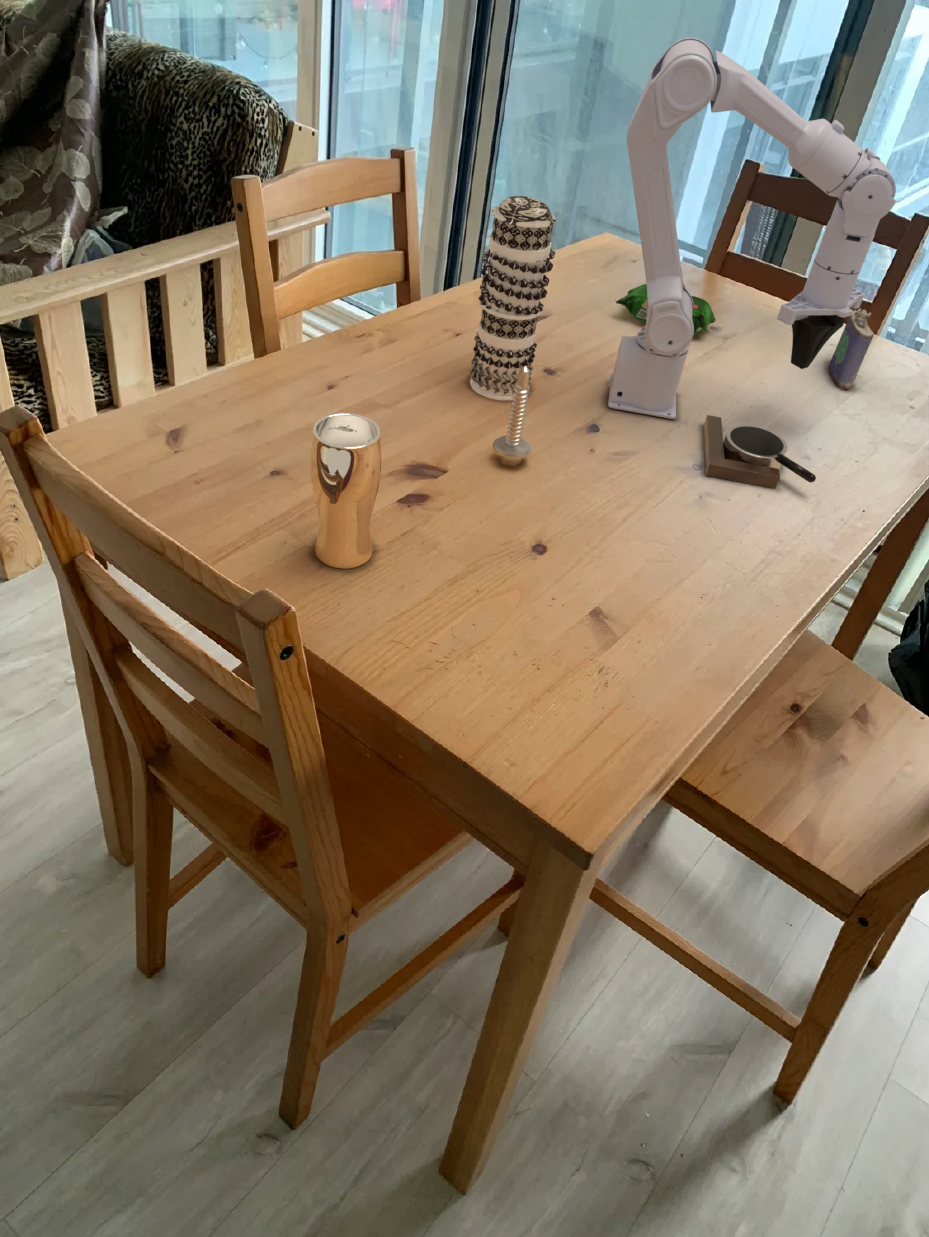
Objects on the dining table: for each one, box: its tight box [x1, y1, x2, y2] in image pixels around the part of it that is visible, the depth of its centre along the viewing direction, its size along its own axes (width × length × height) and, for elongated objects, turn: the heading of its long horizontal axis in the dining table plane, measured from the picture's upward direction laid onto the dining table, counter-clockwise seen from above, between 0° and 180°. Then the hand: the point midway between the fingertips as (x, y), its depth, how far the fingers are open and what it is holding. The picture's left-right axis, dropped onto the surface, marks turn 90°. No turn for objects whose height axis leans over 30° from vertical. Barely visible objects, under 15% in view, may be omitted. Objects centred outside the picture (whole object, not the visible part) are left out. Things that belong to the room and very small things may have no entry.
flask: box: [827, 308, 875, 390], centre depth 142 cm, size 9×3×11 cm, turn 172°
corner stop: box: [703, 414, 781, 489], centre depth 123 cm, size 9×13×2 cm
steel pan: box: [723, 424, 817, 483], centre depth 121 cm, size 14×8×3 cm, turn 35°
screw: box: [492, 366, 532, 467], centre depth 113 cm, size 13×5×5 cm
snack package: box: [615, 283, 717, 336], centre depth 151 cm, size 7×16×5 cm, turn 65°
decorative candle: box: [469, 195, 557, 401], centre depth 123 cm, size 9×9×25 cm
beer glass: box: [310, 412, 382, 570], centre depth 95 cm, size 7×7×15 cm
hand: (799, 365), depth 125 cm, fingers closed
